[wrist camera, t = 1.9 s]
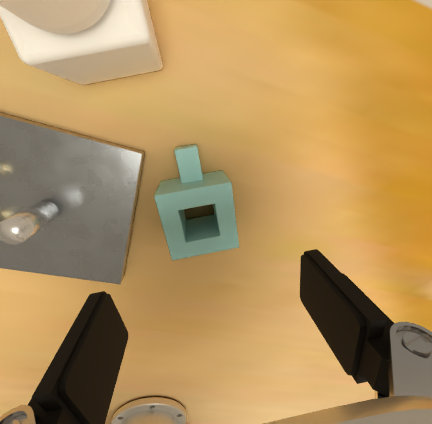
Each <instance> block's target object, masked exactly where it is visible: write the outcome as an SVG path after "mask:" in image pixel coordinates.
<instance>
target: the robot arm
mask: <svg viewBox="0 0 432 424" xmlns="http://www.w3.org/2000/svg"><path fill="white" fill-rule="evenodd" d="M300 298H301V301H302V303H303V305H304V306H305V308H306V310H307V311H308V313H309V314H310V316H311V318H312V319H313V321H314V322H315V324H316V326H317V327H318V329H319V330H320V332H321V334H322V335H323V337H324V338H325V340H326V342H327V343H328V345H329V347H330V348H331V350H332V351H333V353H334V355H335V356H336V358H337V359H338V361H339V363H340V364H341V366H342V367H343V369H344V371H345V372H346V373H347V374H348V375H352V377H353V378H354V380H355V381H356V383H357V384H359V383H363V382H367V381H368V383H369V384H370V386H371V387H372V389H373V390H375V399H372V400H367V401H362V402H357V403H353V404H348V405H343V406H338V407H333V408H329V409H324V410H320V411H316V412H312V413H307V414H303V415H299V416H294V417H290V418H286V419H281V420H277V421H273V422H268V423H264V424H432V332H431V331H429V330H428V329H426V328H424V327H422V326H419V325H417V324H414V323H409V322H398V323H394V322H392V321H391V320H390V319H389V318H388V317H387V316H386V315H385V314H384V313H383V312H382V311H381V310H380V309H379V308H378V307H377V306H376V305H375V304H374V303H373V302H372V301H371V300H370V299H369V298H368V297H367V296H366V295H365V294H364V293H363V292H362V291H361V290H360V289H359V288H358V287H357V286H356V285H355V284H354V283H353V282H352V281H351V280H350V279H349V278H348V277H347V276H346V275H344V274H342V273H341V272H340V271H339V270H338V269H337V268H336V267H335V266H334V265H333V264H332V263H331V262H330V261H329V260H328V259H327V258H326V257H325V256H324V255H323V254H322V253H321V252H320V251H318V250H317V249H315V250H310V251H305V252H304V255H302V256H301V272H300ZM127 341H128V331H127V329H126V327H125V325H124V323H123V321H122V319H121V316H120V314H119V312H118V310H117V308H116V306H115V304H114V302H113V300H112V298H111V296H110V294H106V292H98V293H93V294H90V295H89V297H88V298H87V300H86V302H85V304H84V306H83V307H82V309H81V311H80V313H79V314H78V316H77V318H76V320H75V321H74V323H73V325H72V327H71V329H70V330H69V332H68V334H67V336H66V337H65V339H64V341H63V343H62V344H61V346H60V348H59V350H58V351H57V353H56V355H55V357H54V359H53V360H52V362H51V364H50V366H49V367H48V369H47V371H46V373H45V374H44V376H43V378H42V380H41V382H40V383H39V385H38V387H37V389H36V390H35V392H34V394H33V396H32V399H31V400H30V402H29V404H28V405H21V406H18V407H16V408H13V409H11V410H10V411H8V412H7V413H5V414H4V415H2V416H1V417H0V424H105V421H106V417H107V413H108V410H109V406H110V402H111V399H112V395H113V391H114V388H115V384H116V381H117V377H118V373H119V370H120V366H121V362H122V359H123V355H124V352H125V348H126V344H127ZM186 415H187V414H186V410H185V409H184V407H183V406H182V405H181V404H180V403H178V402H176V401H174V400H171V399H168V398H162V397H148V398H142V399H138V400H134V401H132V402H129V403H127V404H125V405H124V406H122V407H121V408H120V409H118V410H117V411H116V412H115V414H114V415H113V418H112V421H111V424H186Z"/></svg>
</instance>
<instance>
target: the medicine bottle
mask: <svg viewBox="0 0 432 424" xmlns="http://www.w3.org/2000/svg"><path fill="white" fill-rule="evenodd" d="M0 17H1V19H2V21H3V23H4V25H5V27H6V30H7V32H8V34H9V36H10V38H11V40H12V42H13V45H14V47H15V49H16V51H17V53H18V55H19V57H20V59H21V60H22V61H23V62H24V63H26V64H27V65H30V66H33V67H35V68H38V69H41V70H43V71H46V72H49V73H51V74H54V75H57V76H59V77H62V78H65V79H67V80H70V81H73V82H75V83H78V84H81V85H86V84H91V83H96V82H102V81H107V80H112V79H117V78H122V77H128V76H133V75H138V74H143V73H148V72H154V71H159V70H161V69H162V67H163V64H162V60H161V56H160V51H159V47H158V43H157V39H156V35H155V31H154V27H153V23H152V18H151V14H150V10H149V6H148V2H147V0H0Z"/></svg>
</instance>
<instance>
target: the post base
mask: <svg viewBox="0 0 432 424" xmlns="http://www.w3.org/2000/svg"><path fill="white" fill-rule="evenodd" d="M144 155H145V152H144V151H140V150H137V149H133V148H129V147H125V146H122V145H118V144H114V143H111V142H107V141H103V140H100V139H96V138H92V137H89V136H85V135H81V134H78V133H74V132H70V131H67V130H63V129H59V128H56V127H52V126H48V125H45V124H41V123H37V122H34V121H30V120H26V119H22V118H19V117H15V116H11V115H8V114H4V113H0V268H4V269H11V270H19V271H26V272H33V273H41V274H48V275H56V276H63V277H70V278H78V279H85V280H93V281H100V282H107V283H115V284H121V282H122V279H123V277H124V273H125V267H126V261H127V255H128V249H129V243H130V237H131V231H132V225H133V220H134V214H135V208H136V202H137V196H138V190H139V184H140V178H141V172H142V166H143V160H144Z"/></svg>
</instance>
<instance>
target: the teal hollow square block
mask: <svg viewBox="0 0 432 424" xmlns="http://www.w3.org/2000/svg"><path fill="white" fill-rule="evenodd" d="M174 151H175V155H176V160H177V164H178V169H179V173H180V178H175V179H169V180H164V181H161V182H160V184H159V187H158V189H157V191H156V193H155V195H154V198H155V201H156V205H157V208H158V212H159V215H160V219H161V223H162V226H163V230H164V233H165V237H166V240H167V244H168V247H169V251H170V255H171V258H172V260H177V259H182V258H187V257H192V256H198V255H203V254H208V253H213V252H218V251H223V250H228V249H233V248H238V247H239V241H238V233H237V225H236V216H235V208H234V200H233V192H232V184H231V181H230V180H229V179H228V177H227V176H226V175H225V173H224V172H223V171H222V170H220V171H215V172H209V173H203V174H202V171H201V165H200V160H199V154H198V148H197V145H196V144H193V145H187V146H181V147H176V148H175V150H174ZM210 204H212V205H213V211H214V215H209V216H203V217H198V218H193V219H187V220H186V217H185V213H184V209H188V208H194V207H199V206H205V205H210Z"/></svg>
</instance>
